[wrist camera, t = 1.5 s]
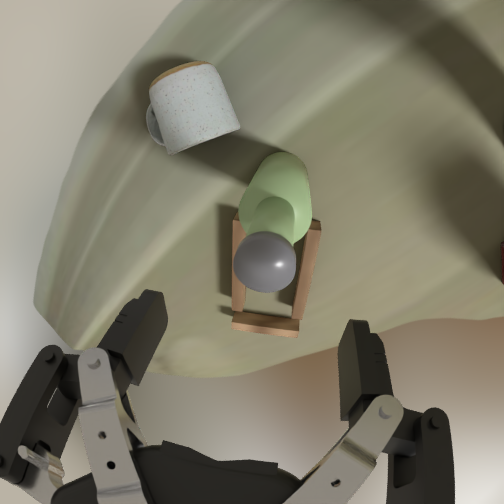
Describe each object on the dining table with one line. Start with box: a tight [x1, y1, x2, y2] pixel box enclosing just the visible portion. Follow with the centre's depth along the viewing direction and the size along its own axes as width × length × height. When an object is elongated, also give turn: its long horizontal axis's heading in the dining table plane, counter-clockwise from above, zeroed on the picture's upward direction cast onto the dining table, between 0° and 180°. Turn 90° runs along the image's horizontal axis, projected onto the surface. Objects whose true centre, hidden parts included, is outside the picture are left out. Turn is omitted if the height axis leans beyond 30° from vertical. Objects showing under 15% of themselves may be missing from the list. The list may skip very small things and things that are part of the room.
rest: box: [232, 211, 321, 338], centre depth 36 cm, size 10×18×2 cm, turn 176°
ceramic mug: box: [146, 61, 240, 155], centre depth 24 cm, size 11×8×8 cm
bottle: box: [233, 152, 312, 293], centre depth 22 cm, size 6×6×18 cm
